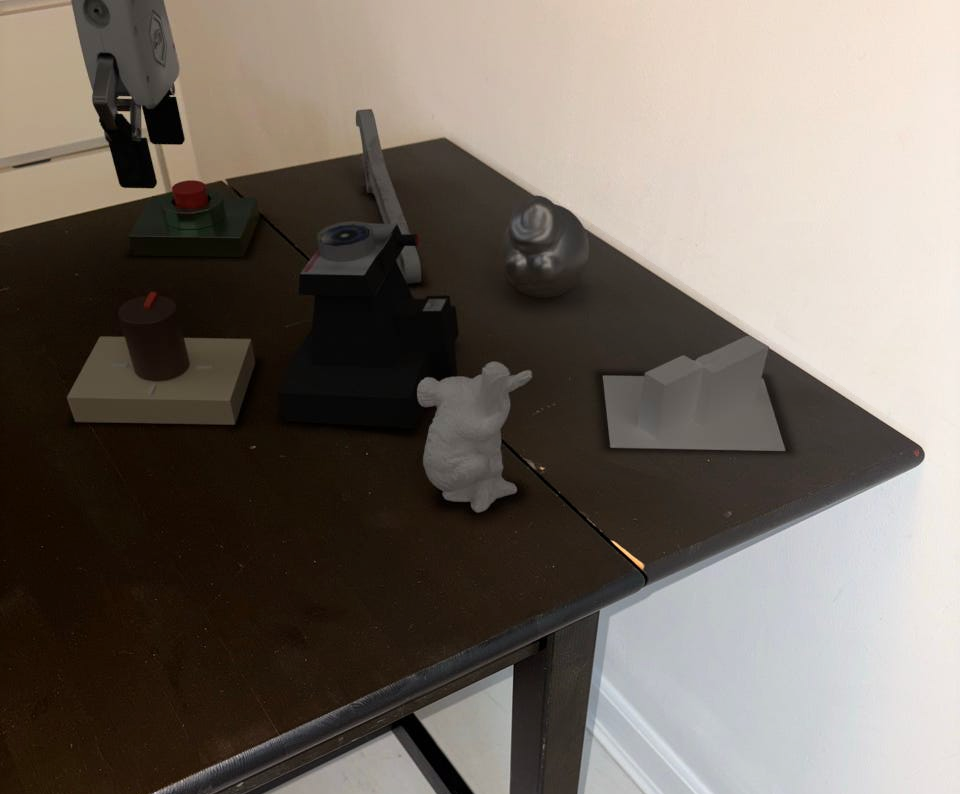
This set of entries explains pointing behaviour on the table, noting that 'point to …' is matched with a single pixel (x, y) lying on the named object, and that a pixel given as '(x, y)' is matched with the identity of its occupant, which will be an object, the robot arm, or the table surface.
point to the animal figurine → (469, 434)
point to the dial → (154, 337)
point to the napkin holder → (696, 403)
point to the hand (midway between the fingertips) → (154, 164)
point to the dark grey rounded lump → (544, 248)
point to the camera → (366, 333)
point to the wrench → (385, 191)
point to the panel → (164, 385)
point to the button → (190, 194)
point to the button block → (195, 227)
